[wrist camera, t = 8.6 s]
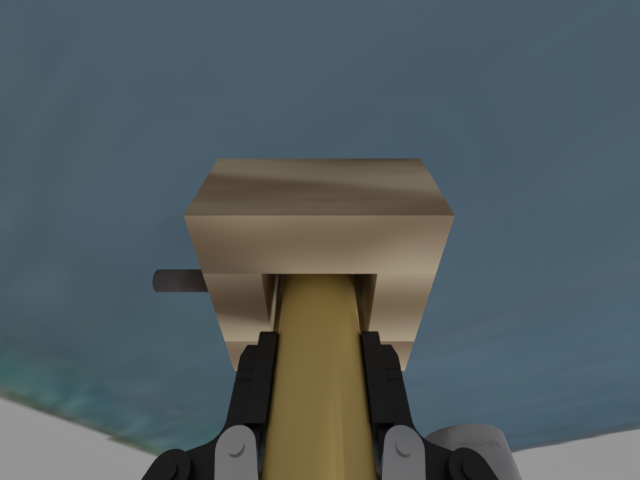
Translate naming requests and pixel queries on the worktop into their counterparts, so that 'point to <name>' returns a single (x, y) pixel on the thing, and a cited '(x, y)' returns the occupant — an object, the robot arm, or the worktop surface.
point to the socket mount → (315, 241)
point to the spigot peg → (319, 386)
